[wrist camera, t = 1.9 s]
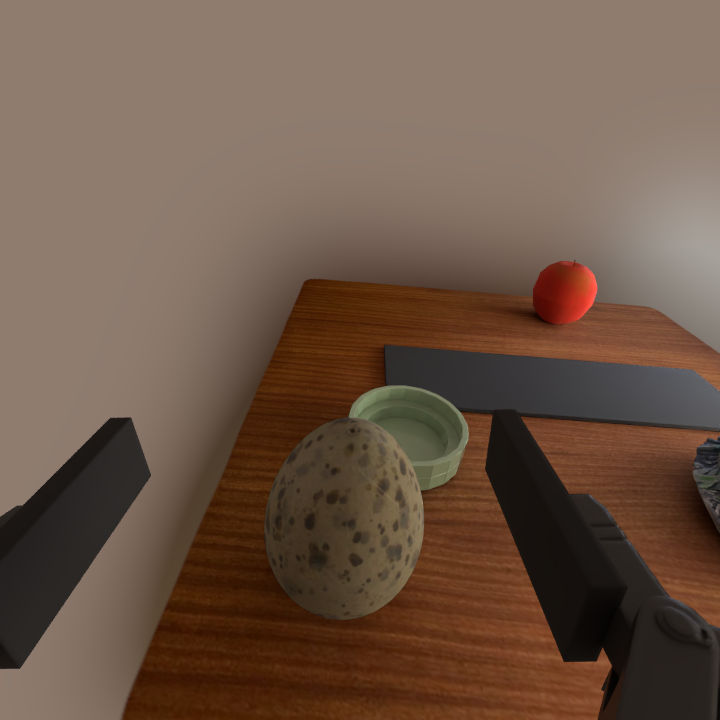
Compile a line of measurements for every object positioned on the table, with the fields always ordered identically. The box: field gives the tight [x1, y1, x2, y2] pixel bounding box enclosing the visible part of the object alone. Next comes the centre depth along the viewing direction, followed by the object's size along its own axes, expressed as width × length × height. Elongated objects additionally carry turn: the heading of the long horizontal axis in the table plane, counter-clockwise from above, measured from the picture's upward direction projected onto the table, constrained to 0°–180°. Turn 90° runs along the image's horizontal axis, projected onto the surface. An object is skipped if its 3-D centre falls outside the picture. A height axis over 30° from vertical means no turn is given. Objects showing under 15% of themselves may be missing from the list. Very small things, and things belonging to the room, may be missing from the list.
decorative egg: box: [264, 418, 424, 620], centre depth 27 cm, size 11×11×15 cm
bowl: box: [349, 385, 468, 490], centre depth 41 cm, size 12×12×4 cm
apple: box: [533, 261, 597, 324], centre depth 71 cm, size 10×10×12 cm
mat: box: [384, 345, 720, 432], centre depth 55 cm, size 48×14×1 cm, turn 88°
